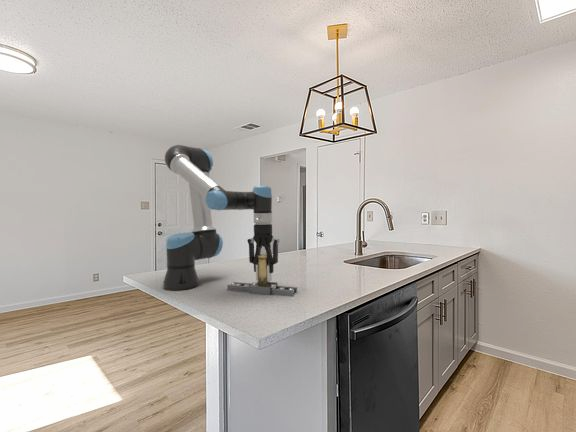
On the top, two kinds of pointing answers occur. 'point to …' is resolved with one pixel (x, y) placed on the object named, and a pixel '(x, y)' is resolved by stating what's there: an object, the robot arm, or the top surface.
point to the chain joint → (263, 288)
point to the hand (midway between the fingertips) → (263, 280)
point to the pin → (262, 270)
